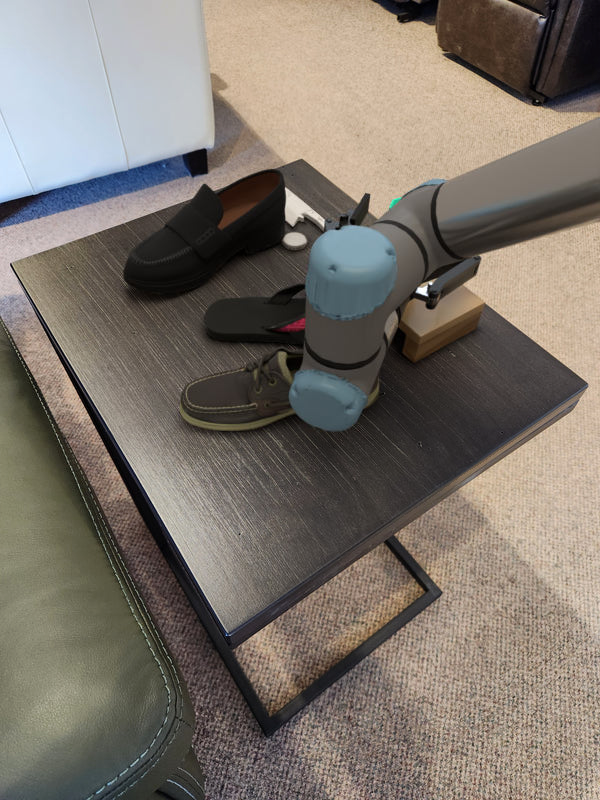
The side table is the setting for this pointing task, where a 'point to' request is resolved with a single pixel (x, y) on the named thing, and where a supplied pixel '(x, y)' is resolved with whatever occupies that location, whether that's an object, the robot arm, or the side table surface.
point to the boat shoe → (247, 394)
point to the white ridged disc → (294, 241)
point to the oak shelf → (439, 321)
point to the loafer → (210, 234)
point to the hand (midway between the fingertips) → (415, 213)
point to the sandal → (259, 318)
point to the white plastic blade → (300, 211)
